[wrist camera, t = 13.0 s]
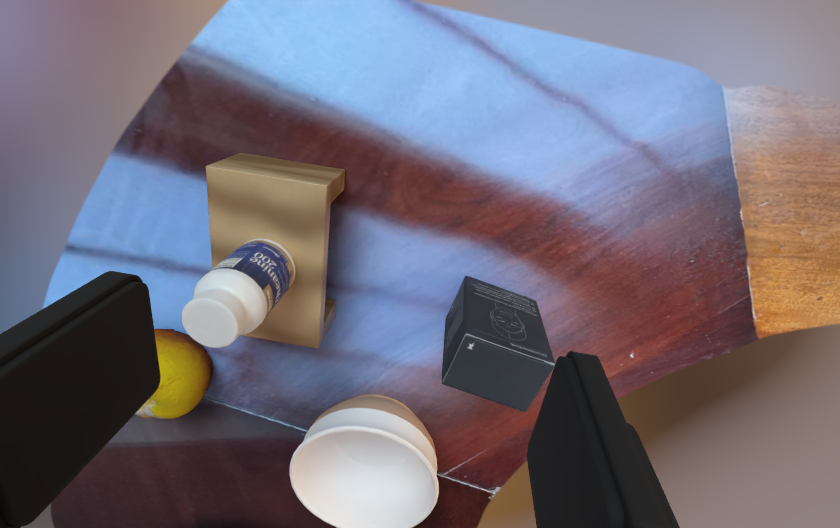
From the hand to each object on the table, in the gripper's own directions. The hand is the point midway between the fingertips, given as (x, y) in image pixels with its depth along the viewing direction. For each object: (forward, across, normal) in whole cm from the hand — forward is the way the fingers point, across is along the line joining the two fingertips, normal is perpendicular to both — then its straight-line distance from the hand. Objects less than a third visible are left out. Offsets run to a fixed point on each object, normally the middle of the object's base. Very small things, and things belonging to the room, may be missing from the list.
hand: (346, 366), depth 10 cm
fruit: (+32, +27, +30) cm, 52 cm away
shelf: (+32, +13, +12) cm, 37 cm away
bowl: (+32, +2, +35) cm, 48 cm away
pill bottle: (+26, +13, +12) cm, 31 cm away
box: (+32, -8, +16) cm, 37 cm away
